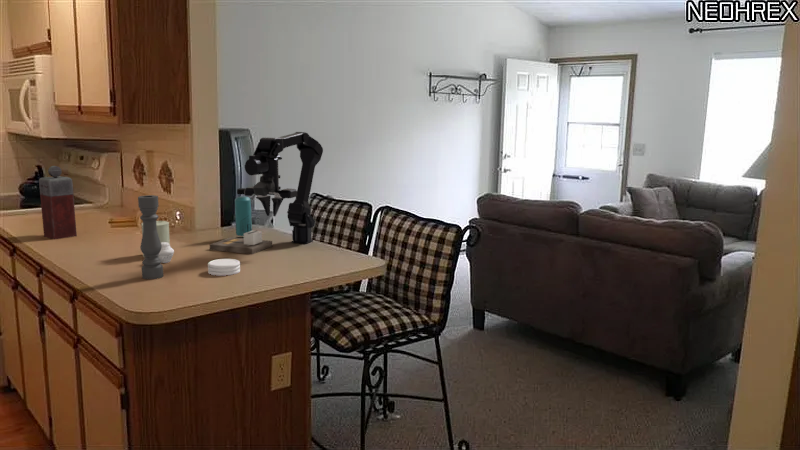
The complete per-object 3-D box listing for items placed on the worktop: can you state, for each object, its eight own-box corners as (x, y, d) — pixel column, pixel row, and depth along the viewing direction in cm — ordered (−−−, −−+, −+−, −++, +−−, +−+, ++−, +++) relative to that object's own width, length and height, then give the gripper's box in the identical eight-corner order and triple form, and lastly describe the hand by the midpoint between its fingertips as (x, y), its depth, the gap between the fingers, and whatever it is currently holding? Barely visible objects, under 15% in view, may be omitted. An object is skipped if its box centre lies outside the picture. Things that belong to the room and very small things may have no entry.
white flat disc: (210, 277, 201) (209, 266, 201) (206, 270, 210) (205, 259, 210) (242, 274, 205) (242, 264, 205) (237, 267, 214) (237, 257, 214)
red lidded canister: (63, 232, 266) (57, 164, 261) (77, 235, 260) (71, 166, 254) (40, 235, 259) (34, 165, 254) (54, 239, 253) (47, 167, 248)
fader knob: (262, 241, 242) (261, 231, 241) (253, 245, 236) (253, 234, 236) (252, 240, 243) (252, 230, 243) (243, 244, 238) (243, 233, 237)
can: (176, 253, 232) (174, 220, 230) (159, 259, 223) (157, 224, 221) (155, 251, 235) (153, 218, 233) (137, 256, 226) (135, 223, 224)
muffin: (156, 264, 216) (155, 244, 214) (154, 260, 221) (153, 240, 220) (176, 262, 218) (175, 242, 217) (173, 259, 224) (172, 239, 222)
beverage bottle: (248, 240, 256) (246, 189, 252) (232, 239, 257) (230, 189, 253) (255, 236, 262) (253, 187, 258) (239, 236, 263) (238, 187, 260)
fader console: (272, 246, 246) (272, 240, 245) (252, 253, 232) (252, 248, 232) (231, 242, 251) (231, 237, 251) (209, 249, 238) (209, 244, 238)
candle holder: (145, 274, 204) (140, 195, 199) (165, 273, 204) (161, 195, 200) (139, 279, 198) (134, 198, 193) (160, 279, 198) (155, 198, 194)
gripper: (235, 173, 228) (236, 217, 231) (282, 176, 222) (283, 221, 225) (252, 171, 238) (253, 212, 241) (297, 173, 232) (298, 216, 235)
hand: (271, 215), depth 235 cm, fingers closed
